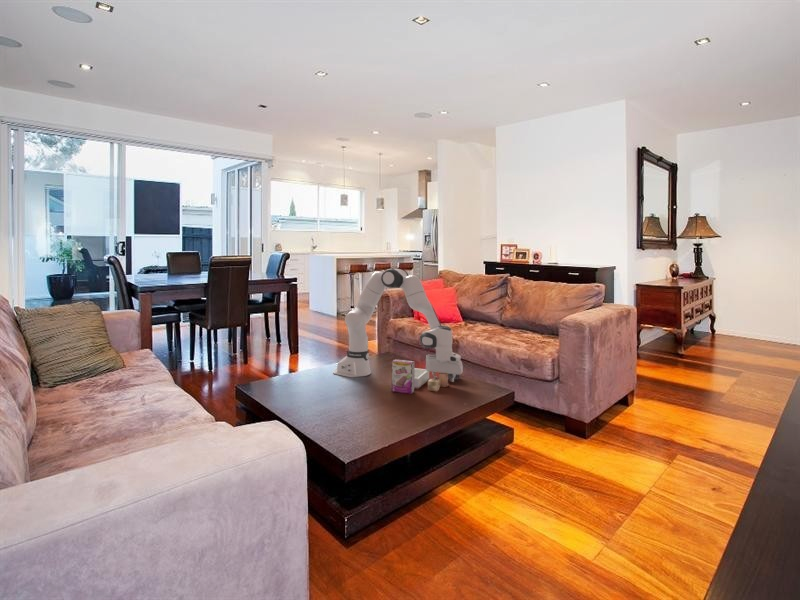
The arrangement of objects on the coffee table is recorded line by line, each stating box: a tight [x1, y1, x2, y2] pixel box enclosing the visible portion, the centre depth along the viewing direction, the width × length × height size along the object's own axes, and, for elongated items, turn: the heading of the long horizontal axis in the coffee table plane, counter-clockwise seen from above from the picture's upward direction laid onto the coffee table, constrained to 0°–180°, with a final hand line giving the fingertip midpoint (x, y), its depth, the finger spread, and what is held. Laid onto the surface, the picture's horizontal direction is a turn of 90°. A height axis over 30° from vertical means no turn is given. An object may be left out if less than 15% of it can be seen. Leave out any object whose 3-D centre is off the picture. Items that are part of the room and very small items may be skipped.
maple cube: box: [427, 378, 440, 392], centre depth 239 cm, size 5×5×5 cm
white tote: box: [414, 367, 430, 389], centre depth 251 cm, size 14×18×6 cm
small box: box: [448, 374, 460, 382], centre depth 257 cm, size 11×6×10 cm, turn 84°
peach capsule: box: [438, 373, 449, 388], centre depth 245 cm, size 5×5×7 cm
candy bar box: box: [391, 359, 416, 395], centre depth 234 cm, size 11×5×16 cm, turn 71°
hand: (443, 380), depth 246 cm, fingers open, 8 cm apart
